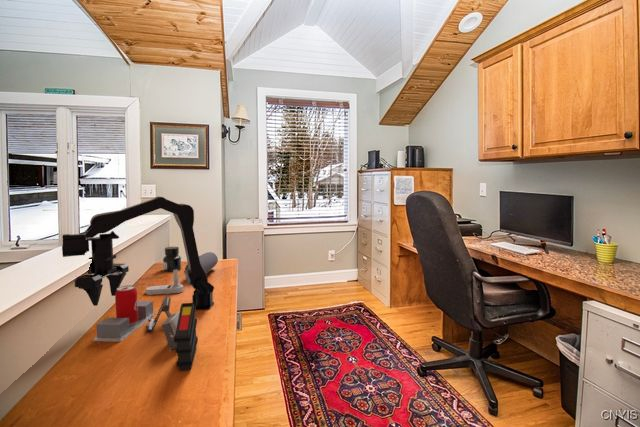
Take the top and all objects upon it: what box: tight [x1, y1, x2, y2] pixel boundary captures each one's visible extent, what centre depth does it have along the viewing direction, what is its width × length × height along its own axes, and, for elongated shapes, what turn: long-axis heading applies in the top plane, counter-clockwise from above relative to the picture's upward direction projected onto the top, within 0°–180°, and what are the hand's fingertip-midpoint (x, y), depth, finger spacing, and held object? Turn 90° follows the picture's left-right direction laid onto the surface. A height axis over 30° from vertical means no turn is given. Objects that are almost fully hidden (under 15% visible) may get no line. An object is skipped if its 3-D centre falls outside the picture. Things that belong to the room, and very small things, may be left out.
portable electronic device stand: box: [146, 296, 172, 334], centre depth 111 cm, size 9×8×8 cm
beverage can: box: [114, 284, 139, 325], centre depth 110 cm, size 6×6×12 cm
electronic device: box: [145, 269, 184, 296], centre depth 145 cm, size 5×10×15 cm
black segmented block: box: [174, 302, 199, 372], centre depth 90 cm, size 4×13×15 cm, turn 13°
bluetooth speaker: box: [184, 251, 219, 275], centre depth 172 cm, size 23×9×10 cm, turn 178°
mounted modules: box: [95, 300, 154, 338], centre depth 111 cm, size 7×20×4 cm, turn 0°
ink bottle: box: [162, 246, 182, 272], centre depth 182 cm, size 10×9×12 cm
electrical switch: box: [161, 310, 180, 351], centre depth 99 cm, size 9×5×9 cm, turn 2°
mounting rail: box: [93, 310, 156, 343], centre depth 111 cm, size 8×21×1 cm, turn 0°
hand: (104, 300), depth 110 cm, fingers open, 9 cm apart
